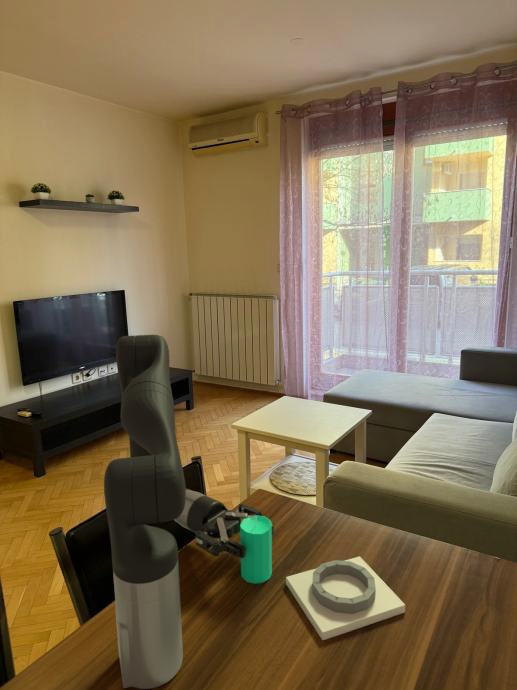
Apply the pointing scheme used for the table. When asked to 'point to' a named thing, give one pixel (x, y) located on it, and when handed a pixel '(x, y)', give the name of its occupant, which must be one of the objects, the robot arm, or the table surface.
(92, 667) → the table surface
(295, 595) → the jig plate
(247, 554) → the candle
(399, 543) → the table surface
